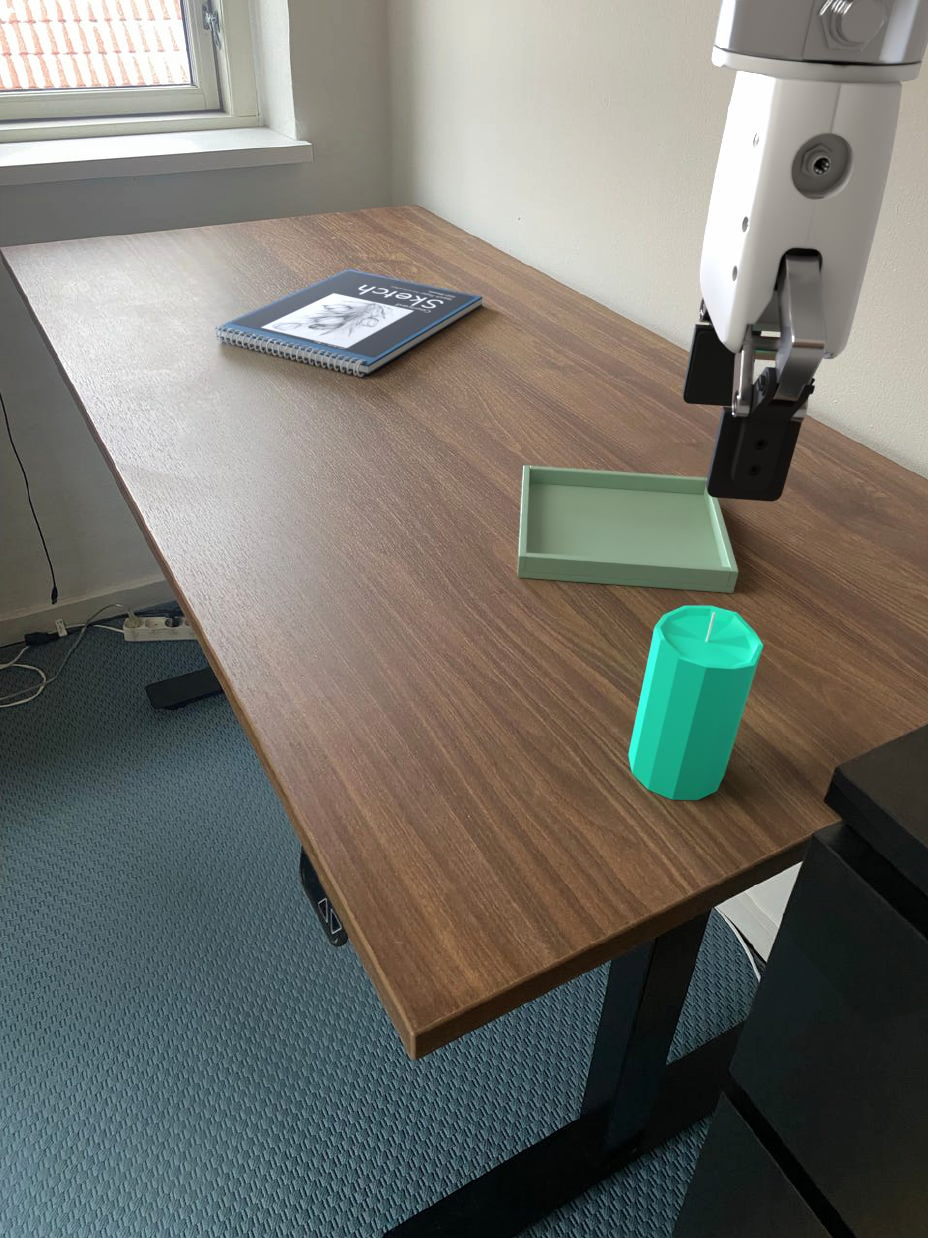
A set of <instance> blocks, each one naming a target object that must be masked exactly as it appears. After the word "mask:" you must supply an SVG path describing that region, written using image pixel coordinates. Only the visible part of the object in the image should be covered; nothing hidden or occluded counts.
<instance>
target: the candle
mask: <svg viewBox="0 0 928 1238" xmlns="http://www.w3.org/2000/svg"><path fill="white" fill-rule="evenodd" d="M763 648H764V643H763V642H762V641H761V639H760V637H759V635H758V634H757V633H756V631H755V629H753V628H752V626H750V625H749V623H748V622H747V621H746V620H744V619H743V617H742V616H741V615H740V614H739V613H738V612H736V611H732V610H728V609H725V608H721V607H717V606H714V605H682V606H680V607H678V608H675V609H673V610H671V611H669V612H667V613H665V614H663V615H662V616H661V617H660V619H659V620H658V621H657V623H656V624H655V625H654V628H653V633H652V638H651V643H650V648H649V653H648V658H647V662H646V666H645V667H646V668H645V671H644V677H643V682H642V687H641V692H640V696H639V701H638V706H637V711H636V716H635V721H634V725H633V731H632V735H631V740H630V744H629V750H628V761H629V765H630V770H631V774H632V775H633V776H634V777H635V778H636V779H637V780H638V781H639V783H641V784H642V785H643V786H644V788H646V790H647V791H650V792H653V793H655V794H657V795H659V796H662V797H664V798H667V799H669V800H672V801H699V800H701V799H703V798H705V797H707V796H710V795H711V794H714V793H716V792H717V791H718V789H719V788H720V785H721V783H722V781H723V779H724V776H725V775H726V771H727V767H728V764H729V761H730V758H731V754H732V750H733V748H734V744H735V741H736V738H737V734H738V731H739V728H740V725H741V721H742V717H743V714H744V711H745V708H746V704H747V701H748V699H749V695H750V691H751V688H752V684H753V681H754V678H755V675H756V671H757V667H758V665H759V662H760V658H761V655H762V652H763Z"/></svg>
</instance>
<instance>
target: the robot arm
mask: <svg viewBox="0 0 928 1238" xmlns="http://www.w3.org/2000/svg"><path fill="white" fill-rule="evenodd" d="M715 31H716V32H715V36H714V42H713V43H714V44H713V48H712V55H711V62H710V63H712V64H713V65H715V66H718V67H720V68H726V69H728V70H732V71H736V75H735V79H734V84H733V85H734V86H733V89H732V94H731V99H730V103H729V105H728V106H727V117H726V122H725V126H724V131H723V136H722V141H721V146H720V151H719V155H718V160H717V165H716V170H715V175H714V181H713V186H712V190H711V197H710V201H709V208H708V211H707V212H708V213H707V219H706V224H705V230H704V235H703V236H704V237H703V242H702V243H703V244H702V250H701V258H700V267H699V287H700V292H701V296H702V297H701V300H700V305H699V311H698V322H699V323H701V324H699V323H695V324H694V328H693V334H692V339H691V345H690V350H689V354H688V360H687V366H686V372H685V376H684V381H683V387H682V398H683V402H685V403H686V404H689V405H701V406H702V405H704V406H717V407H722V410H721V414H720V419H719V423H718V428H717V431H716V436H715V441H714V445H713V450H712V455H711V458H710V462H709V463H710V464H709V468H708V471H707V472H708V473H707V477H706V478H707V481H706V488H707V492H708V494H709V495H710V496H711V497H715V498H718V499H729V500H731V499H732V500H743V501H744V500H745V501H756V502H757V501H758V502H777V501H778V500H779V499H780V498H781V497H782V495H783V492H784V488H785V485H786V482H787V477H788V475H789V474H788V473H789V472H790V471H789V470H790V468H791V463H792V459H793V456H794V452H795V449H796V446H797V442H798V438H799V436H800V433H801V432H800V431H801V428H802V424H803V422H804V421H805V419H806V416H807V413H808V408H809V397H810V395H813V394H814V392H815V388H816V385H813V384H814V383H815V381H816V379H815V378H814V376H815V375H816V372H817V370H818V368H819V366H820V364H821V362H822V360H833V359H835V358H836V357H838V356H839V355H841V353H843V351H844V350H845V349H846V347H847V344H848V341H849V338H850V335H851V330H852V327H853V323H854V319H855V316H856V311H857V308H858V304H859V299H860V296H861V292H862V287H863V283H864V279H865V275H866V271H867V267H868V263H869V258H870V255H871V250H872V246H873V242H874V238H875V234H876V230H877V226H878V222H879V218H880V213H881V209H882V204H883V199H884V195H885V190H886V186H887V181H888V177H889V171H890V167H891V161H892V155H893V151H894V145H895V140H896V135H897V134H896V133H897V129H898V128H897V127H898V122H899V121H898V119H899V116H900V115H899V114H900V108H901V98H902V89H903V84H902V82H903V83H904V82H909V81H914V80H916V79H918V78H919V74H920V71H921V67H922V63H923V59H924V56H925V53H926V49H927V46H928V0H721V1H720V7H719V13H718V19H717V25H716V30H715ZM702 323H705V324H702ZM706 323H707V324H706ZM762 332H769V333H770V332H772V333H780V334H779V335H780V336H769V335H762ZM756 360H757V361H772V362H773V361H774V362H775V366H774V367H773V366H766V367H764V369H763V370H762V371H761V372H760V374H759V375H758V377H757V378H756V380H755V381H754V376H755V375H754V374H755V362H756Z"/></svg>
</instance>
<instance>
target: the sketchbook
mask: <svg viewBox="0 0 928 1238" xmlns="http://www.w3.org/2000/svg"><path fill="white" fill-rule="evenodd" d="M481 306H483V296H481V295H476V294H471V293H467V292H462V291H457V290H452V289H447V288H442V287H437V286H432V285H428V284H424V283H418V282H412V281H407V280H403V279H399V278H394V277H389V276H385V275H384V276H383V275H379V274H374V273H369V272H365V271H359V270H354V269H349V268H346V269H345V270H342V271H341V272H338V273H336V274H334V275H331V276H329V277H327V278H324V279H322V280H320V281H317V282H315V283H312V284H310V285H309V286H307V287H304V288H302V289H300V290H298V291H295V292H292V293H291V294H288V295H286V296H284V297H282V298H280V299H277V300H274V301H273V302H270V303H268V304H266V305H264V306H262V307H261V306H260V307H259V308H257V309H255V310H253V311H250V312H247V313H245V314H244V315H241V316H239V317H236V318H234V319H232V320H230V321H228V322H225V323H223V324H221V325H218V326H216V327H215V339H216V340H217V341H218V343H224V342H225V343H226V344H227V345H228V344H231V345H232V346H237V347H240V348H241V347H242V348H244V349H247V348H248V350H251V351H252V350H255V351H256V352H259V351H260V352H261V353H263V354H264V353H266V354H267V355H271V354H272V355H273V356H277V355H278V357H280V358H282V357H284V358H285V359H291V360H292V361H295V360H296V361H297V362H303V363H304V364H307V363H308V364H309V365H315V366H316V367H320V366H321V367H322V368H323V369H325V368H327V369H329V370H332V369H334V371H335V372H338V371H339V370H340V372H341V373H345V372H346V373H347V375H351V374H353V376H354V377H355V376H358V377H359V378H362V377H364V376H365V375H369V374H371V373H373V372H374V371H376V370H378V369H380V368H382V367H383V366H384V365H387V364H388V363H389V362H391V361H393V360H394V359H396V358H397V357H399V356H401V355H402V354H404V353H406V352H408V351H409V350H410V349H412V348H414V347H415V346H417V345H419V344H420V343H422V342H425V340H427V339H429V338H430V337H431V336H433V335H435V334H437V333H439V332H440V331H442V330H443V329H445V328H447V327H448V326H450V325H451V324H453V323H455V322H456V321H458V320H459V319H462V318H464V317H465V316H466V315H468V314H470V313H471V312H473V311H475V310H476V309H477V308H479V307H481Z"/></svg>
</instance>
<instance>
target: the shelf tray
mask: <svg viewBox="0 0 928 1238" xmlns="http://www.w3.org/2000/svg"><path fill="white" fill-rule="evenodd" d="M706 481H707V477H704V476H702V477H701V476H686V475H674V474H660V473H658V474H657V473H644V472H643V473H642V472H628V471H615V470H600V469H587V468H586V469H585V468H584V469H583V468H570V467H553V466H540V465H523V466H522V477H521V491H520V492H521V494H520V513H519V531H518V532H519V534H518V551H517V568H516V569H517V571H516V577H517V578H520V579H531V580H546V581H560V582H574V583H587V584H588V583H589V584H601V585H602V584H603V585H615V586H628V587H629V586H630V587H644V588H657V589H670V590H682V591H683V590H684V591H699V592H711V593H727V594H733V593H734V591H735V587H736V584H737V579H738V576H739V568H738V564H737V561H736V557H735V554H734V551H733V547H732V543H731V540H730V537H729V533H728V530H727V526H726V523H725V519H724V516H723V515H724V514H723V512H722V509H721V505H720V502H719V498H715V497H711V496H710V495H709V494H708V492H707V488H706Z"/></svg>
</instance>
